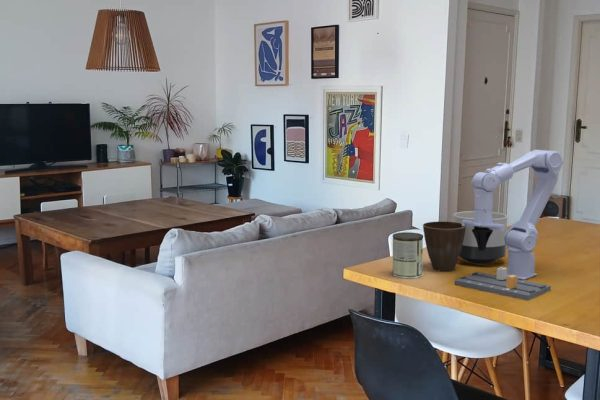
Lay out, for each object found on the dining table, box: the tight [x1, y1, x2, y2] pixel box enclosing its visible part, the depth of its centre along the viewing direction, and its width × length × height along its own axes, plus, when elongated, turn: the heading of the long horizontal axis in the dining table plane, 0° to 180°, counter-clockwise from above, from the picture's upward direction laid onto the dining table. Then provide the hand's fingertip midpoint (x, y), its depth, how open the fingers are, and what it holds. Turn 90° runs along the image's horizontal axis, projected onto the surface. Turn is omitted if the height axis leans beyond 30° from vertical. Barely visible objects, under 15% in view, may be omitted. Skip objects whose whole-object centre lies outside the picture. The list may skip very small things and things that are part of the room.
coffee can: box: [392, 231, 424, 280], centre depth 217 cm, size 10×10×14 cm
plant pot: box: [422, 221, 466, 272], centre depth 225 cm, size 15×15×16 cm
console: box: [454, 271, 552, 301], centre depth 201 cm, size 15×25×2 cm, turn 44°
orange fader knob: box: [506, 275, 517, 289], centre depth 194 cm, size 3×2×4 cm, turn 134°
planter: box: [452, 210, 508, 265], centre depth 236 cm, size 19×19×18 cm
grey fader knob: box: [496, 266, 508, 280], centre depth 204 cm, size 3×2×4 cm, turn 134°
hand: (481, 249), depth 208 cm, fingers closed
